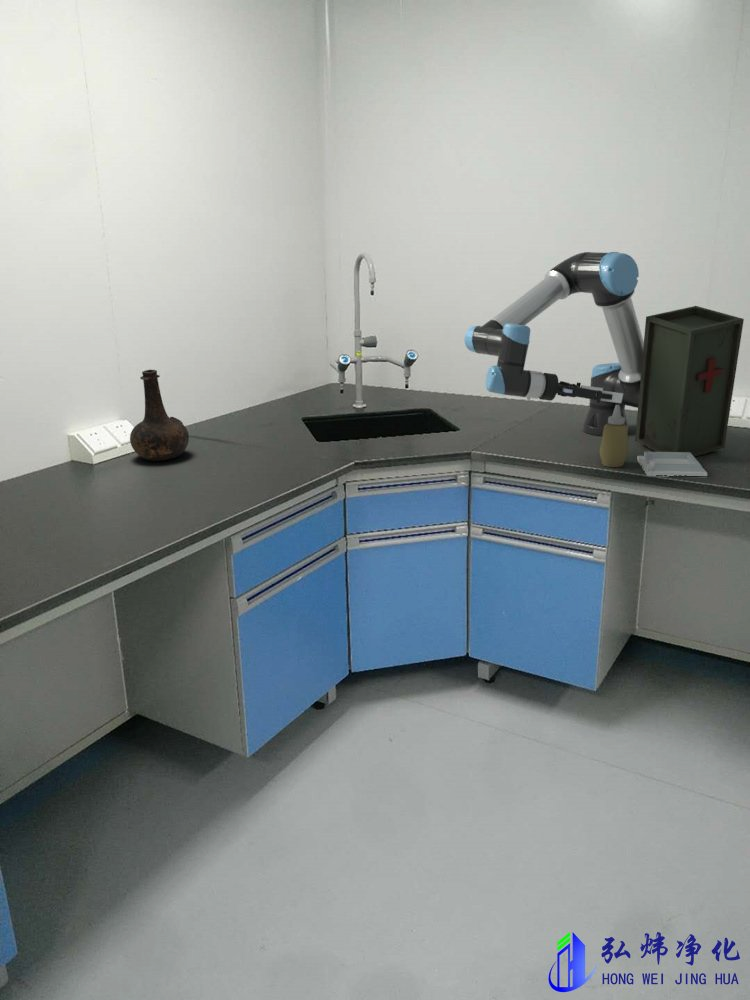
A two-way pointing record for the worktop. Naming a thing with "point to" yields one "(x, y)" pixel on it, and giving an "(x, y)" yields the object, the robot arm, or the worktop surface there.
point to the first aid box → (687, 380)
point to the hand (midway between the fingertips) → (611, 395)
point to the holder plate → (670, 464)
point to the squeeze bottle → (614, 440)
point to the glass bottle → (157, 426)
